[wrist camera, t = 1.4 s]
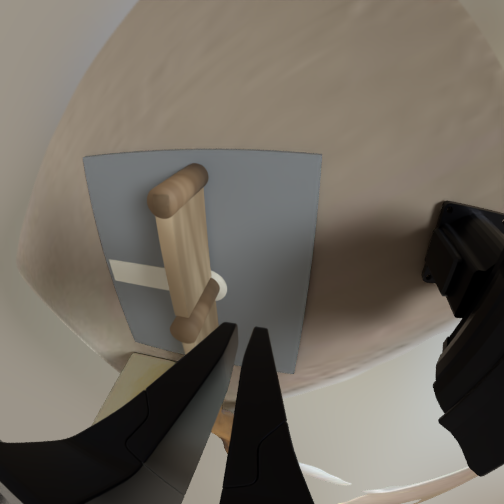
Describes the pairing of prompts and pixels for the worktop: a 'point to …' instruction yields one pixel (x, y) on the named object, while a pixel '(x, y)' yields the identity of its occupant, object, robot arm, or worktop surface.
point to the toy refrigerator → (133, 381)
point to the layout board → (214, 239)
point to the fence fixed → (198, 319)
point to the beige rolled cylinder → (183, 235)
